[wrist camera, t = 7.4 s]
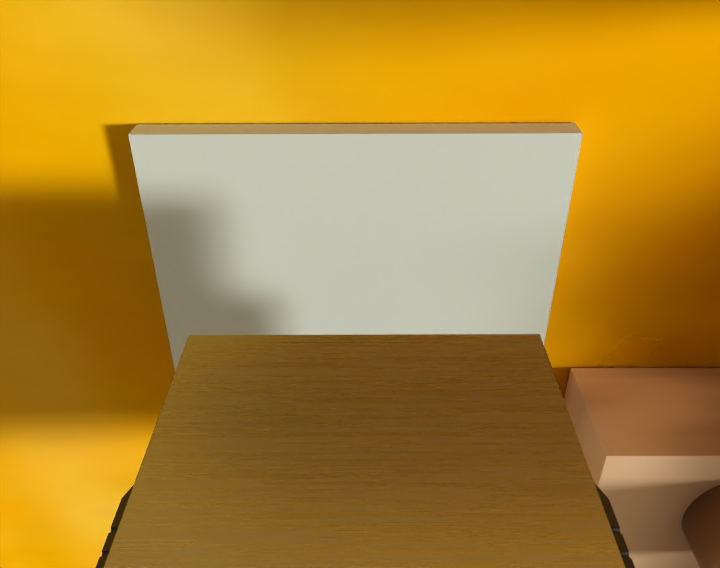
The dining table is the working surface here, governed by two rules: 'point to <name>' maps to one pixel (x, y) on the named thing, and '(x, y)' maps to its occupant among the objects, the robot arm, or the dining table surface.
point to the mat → (355, 226)
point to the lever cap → (364, 458)
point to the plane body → (654, 457)
